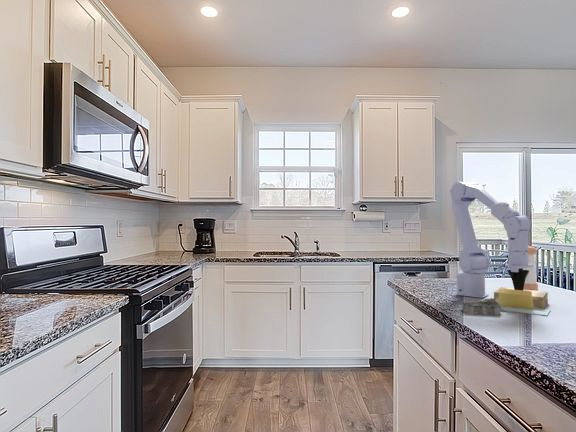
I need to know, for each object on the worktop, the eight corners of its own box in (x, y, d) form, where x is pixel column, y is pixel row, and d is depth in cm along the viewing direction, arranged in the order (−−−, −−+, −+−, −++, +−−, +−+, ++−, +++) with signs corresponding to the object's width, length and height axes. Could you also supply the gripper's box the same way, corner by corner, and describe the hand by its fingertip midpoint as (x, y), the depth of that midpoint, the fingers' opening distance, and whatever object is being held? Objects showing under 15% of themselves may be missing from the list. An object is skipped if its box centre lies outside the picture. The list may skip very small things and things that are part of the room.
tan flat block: (494, 303, 127) (493, 292, 127) (501, 298, 136) (501, 287, 136) (543, 309, 118) (542, 297, 118) (547, 303, 127) (547, 291, 127)
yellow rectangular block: (501, 301, 125) (500, 305, 124) (499, 288, 122) (498, 292, 121) (533, 304, 119) (532, 309, 118) (531, 291, 116) (530, 295, 115)
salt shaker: (542, 293, 145) (541, 244, 146) (523, 293, 145) (522, 244, 146) (530, 289, 152) (529, 243, 153) (512, 289, 153) (511, 243, 153)
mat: (481, 307, 122) (481, 306, 122) (487, 302, 129) (487, 302, 129) (547, 316, 110) (547, 315, 110) (550, 310, 117) (550, 309, 117)
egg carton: (497, 310, 119) (496, 298, 119) (503, 316, 111) (503, 303, 112) (460, 308, 122) (460, 296, 122) (464, 314, 115) (464, 300, 115)
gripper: (528, 253, 117) (529, 296, 117) (535, 250, 128) (536, 289, 128) (503, 252, 121) (504, 293, 121) (512, 249, 132) (512, 287, 132)
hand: (518, 291), depth 125 cm, fingers closed
